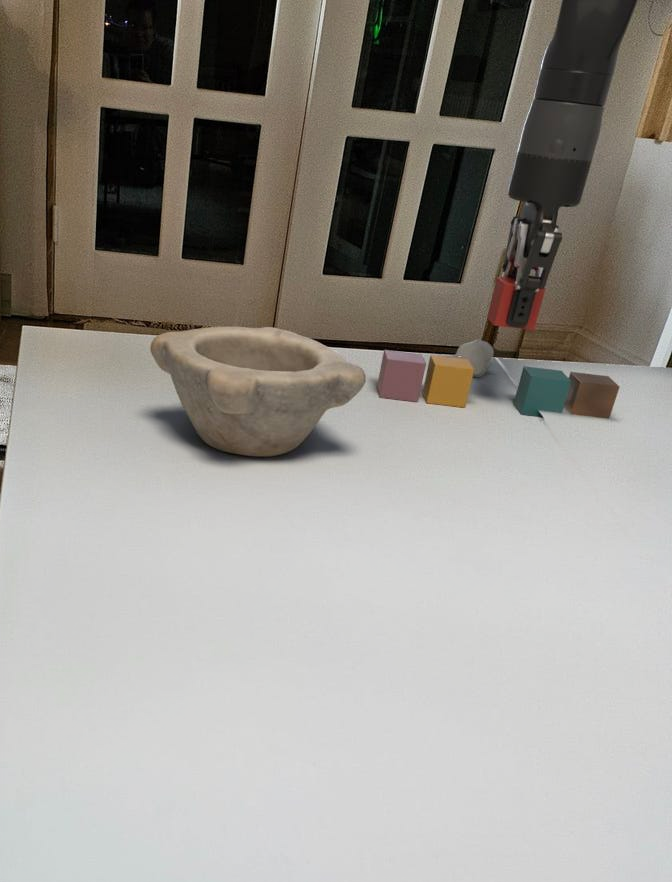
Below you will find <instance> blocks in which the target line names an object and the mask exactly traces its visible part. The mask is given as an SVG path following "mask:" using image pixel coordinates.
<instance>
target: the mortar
mask: <svg viewBox="0 0 672 882" xmlns="http://www.w3.org/2000/svg"><path fill="white" fill-rule="evenodd" d="M149 347H150V348H149V349H150V353H151V356H152V357H153V359H154V361H155V363H156V364H157V366H158V367H159V369H161V371H163V372H164V373H167V374H168V375H170V378H171V381H172V384H173V386H174V389H175V391H176V394H177V397H178V399H179V401H180V403H181V406H182V408H183V409H184V411H185V412H186V415H187V417H188V419H189V421H190V423H191V425H192V427H193V429H194V430H195V432H196V433H197V435H198V436H199V438H200V440H202V441H203V442H204V443H205V444H207V445H208V446H209V447H212V448H213V449H216V450H218V451H221V452H225V453H229V454H233V455H241V456H246V457H247V456H248V457H275V456H280V455H284V454H286V453H290V452H291V451H293V450H294V449H296V448H297V447H298V446H300V445H301V444H302V443H303V442H304V441H305V440H306V438H308V437H309V435H310V434H311V432H313V430H314V428H315V427H316V426H317V424H318V423H319V422H320V420H321V419H322V418H323V416H324V414H325V413H326V412H327V411H328V410H330V409H334V408H339V407H343V406H346V404H348V403H349V402H350V401H351V400H353V399H354V397H356V396H357V395H358V394H359V393H360V391H361V390H362V389H363V388H364V386H365V384H366V373H365V371H364V369H363V368H362V367H361V366H360V365H359V364H356V363H353V362H350V361H347V359H346V358H345V357H344V356H343V355H342V354H341V353H340V352H338V351H337V350H335V349H333V348H331V347H329V346H327V345H324V344H323V343H321V342H319V341H318V340H314V339H312V338H309V337H306V336H304V335H300V334H298V333H295V332H294V331H289V330H286V329H280V328H277V327H273V326H264V327H248V326H247V327H245V326H210V327H201V328H194V329H188V330H181V331H167V332H164V333H161V334H158V335H156V336H155V337H154V338H153V339H152V341H151V343H150V346H149Z"/></svg>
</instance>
